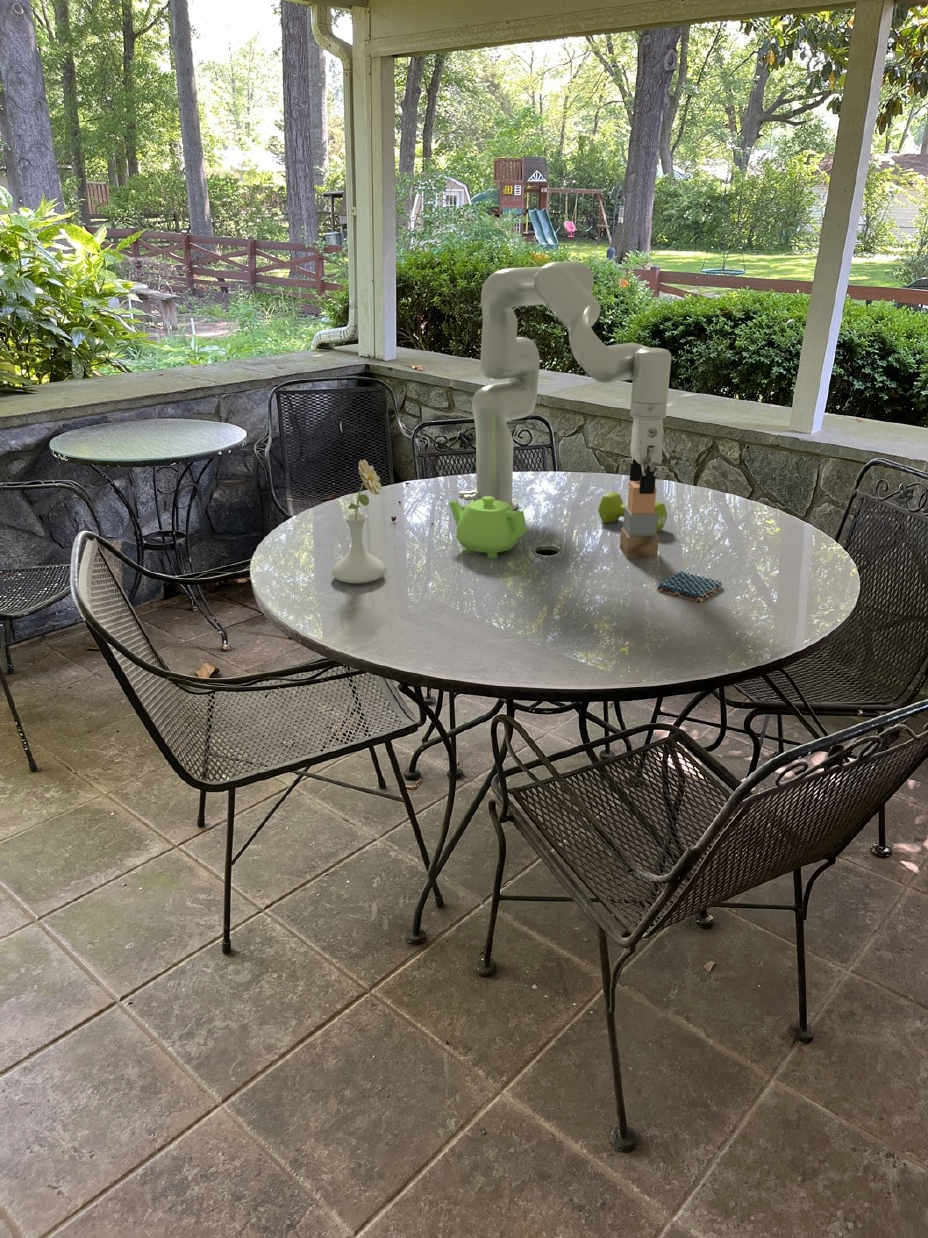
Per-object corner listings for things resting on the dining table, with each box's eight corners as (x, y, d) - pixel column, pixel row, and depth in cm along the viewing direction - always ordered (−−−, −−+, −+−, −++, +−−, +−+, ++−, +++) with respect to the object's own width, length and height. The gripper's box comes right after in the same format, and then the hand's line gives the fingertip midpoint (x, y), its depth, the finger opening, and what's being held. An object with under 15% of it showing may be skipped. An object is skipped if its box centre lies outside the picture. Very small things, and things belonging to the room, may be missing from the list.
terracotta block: (631, 514, 192) (633, 487, 189) (627, 507, 196) (629, 481, 194) (654, 513, 192) (656, 487, 189) (649, 506, 196) (651, 481, 194)
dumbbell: (668, 529, 213) (671, 501, 210) (651, 537, 207) (654, 508, 204) (612, 515, 223) (614, 488, 220) (594, 523, 217) (596, 495, 214)
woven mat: (724, 589, 179) (726, 580, 178) (700, 605, 172) (702, 596, 171) (679, 577, 185) (680, 569, 184) (654, 592, 178) (654, 583, 177)
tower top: (629, 536, 193) (630, 515, 191) (623, 527, 199) (624, 506, 197) (655, 535, 194) (657, 514, 192) (648, 527, 199) (650, 506, 197)
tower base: (626, 558, 195) (627, 537, 193) (619, 548, 201) (621, 527, 199) (657, 558, 195) (659, 536, 193) (649, 547, 201) (651, 526, 199)
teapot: (435, 550, 201) (434, 497, 195) (467, 534, 211) (467, 483, 205) (509, 567, 190) (510, 512, 185) (539, 549, 200) (541, 496, 195)
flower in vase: (364, 592, 178) (356, 473, 168) (321, 581, 184) (311, 465, 173) (401, 572, 188) (396, 458, 178) (359, 562, 194) (352, 452, 183)
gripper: (676, 417, 177) (668, 498, 184) (656, 400, 192) (649, 475, 200) (640, 418, 177) (633, 499, 184) (622, 401, 192) (616, 476, 199)
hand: (641, 486), depth 192 cm, fingers open, 9 cm apart
